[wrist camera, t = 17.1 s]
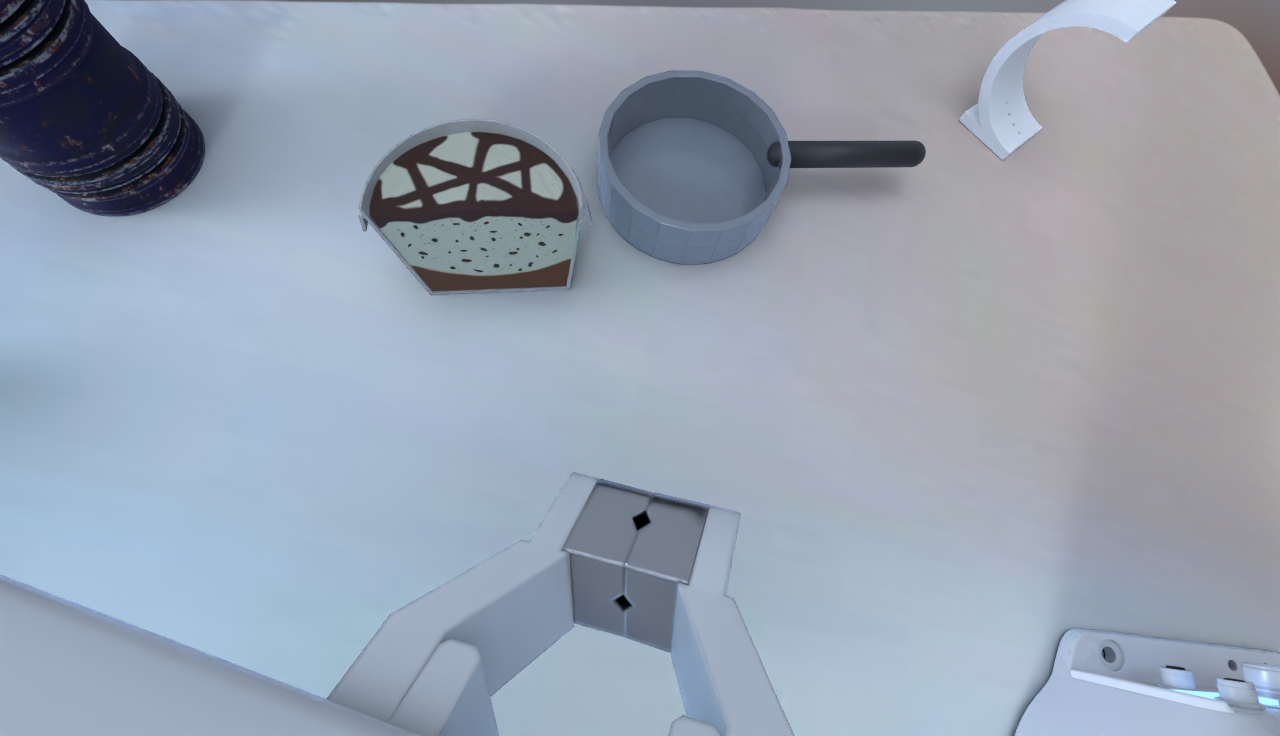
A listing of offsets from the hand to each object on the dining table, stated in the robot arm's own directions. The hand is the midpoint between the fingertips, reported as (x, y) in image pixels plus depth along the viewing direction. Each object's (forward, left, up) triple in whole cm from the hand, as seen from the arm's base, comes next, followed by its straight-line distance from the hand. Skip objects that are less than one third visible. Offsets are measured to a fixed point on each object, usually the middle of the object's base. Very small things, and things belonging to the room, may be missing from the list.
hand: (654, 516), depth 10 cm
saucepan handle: (-19, -25, -23) cm, 39 cm away
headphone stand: (-35, -31, -26) cm, 53 cm away
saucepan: (-8, -25, -25) cm, 37 cm away
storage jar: (+31, -28, -26) cm, 49 cm away
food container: (+6, -20, -26) cm, 33 cm away
